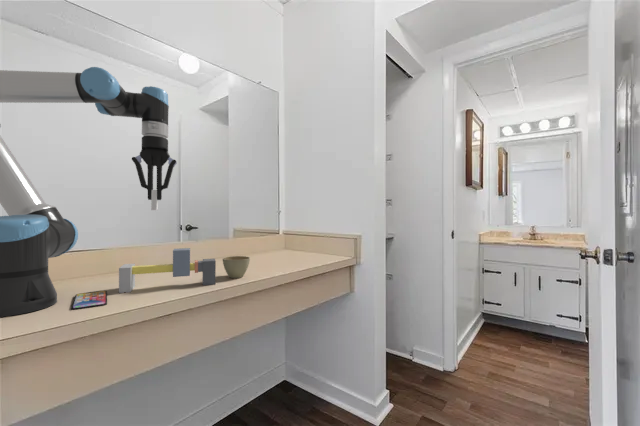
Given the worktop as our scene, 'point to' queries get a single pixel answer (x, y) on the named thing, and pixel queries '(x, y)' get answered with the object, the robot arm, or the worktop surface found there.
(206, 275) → the rail
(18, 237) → the robot arm
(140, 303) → the worktop surface
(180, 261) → the sleeve
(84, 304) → the smartphone
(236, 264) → the flower pot
